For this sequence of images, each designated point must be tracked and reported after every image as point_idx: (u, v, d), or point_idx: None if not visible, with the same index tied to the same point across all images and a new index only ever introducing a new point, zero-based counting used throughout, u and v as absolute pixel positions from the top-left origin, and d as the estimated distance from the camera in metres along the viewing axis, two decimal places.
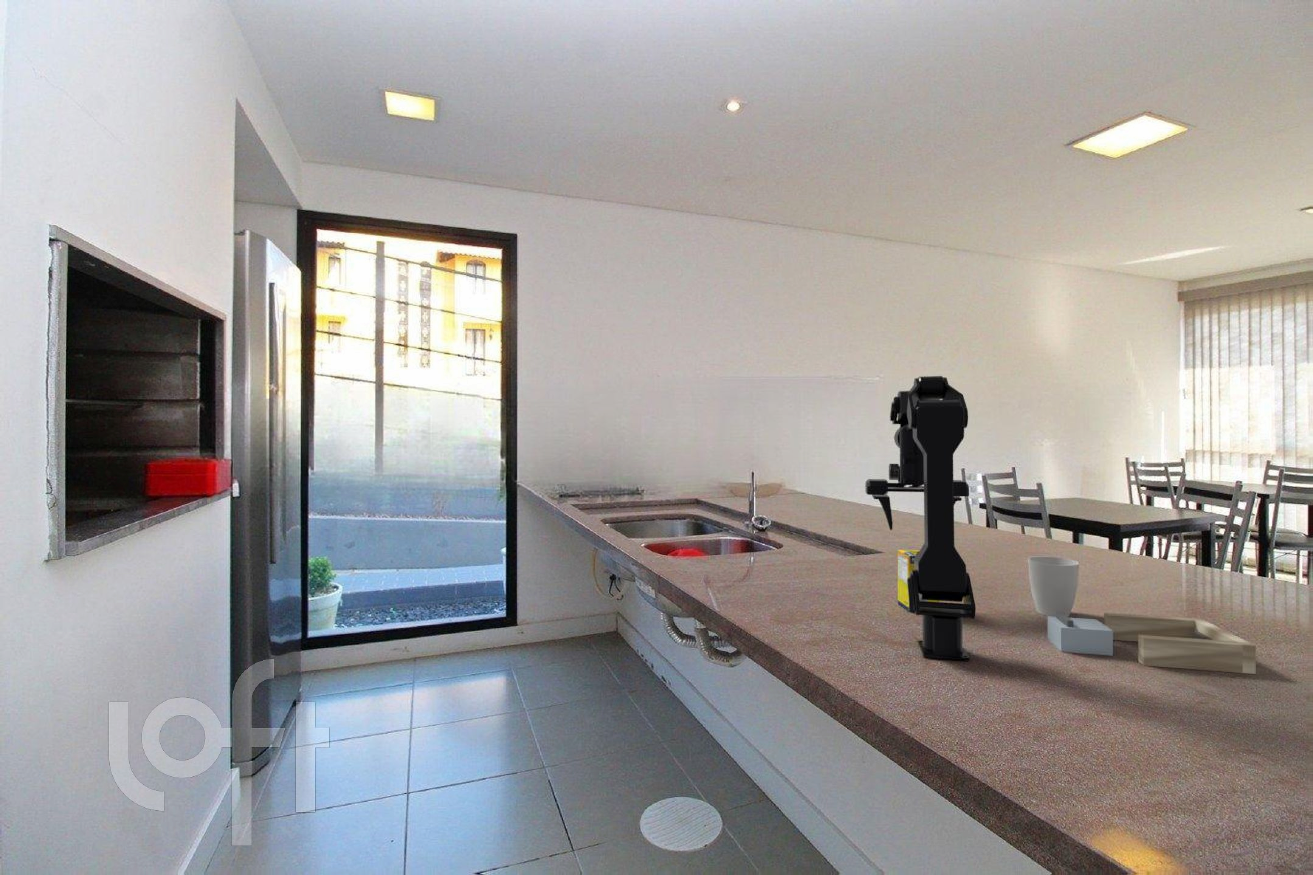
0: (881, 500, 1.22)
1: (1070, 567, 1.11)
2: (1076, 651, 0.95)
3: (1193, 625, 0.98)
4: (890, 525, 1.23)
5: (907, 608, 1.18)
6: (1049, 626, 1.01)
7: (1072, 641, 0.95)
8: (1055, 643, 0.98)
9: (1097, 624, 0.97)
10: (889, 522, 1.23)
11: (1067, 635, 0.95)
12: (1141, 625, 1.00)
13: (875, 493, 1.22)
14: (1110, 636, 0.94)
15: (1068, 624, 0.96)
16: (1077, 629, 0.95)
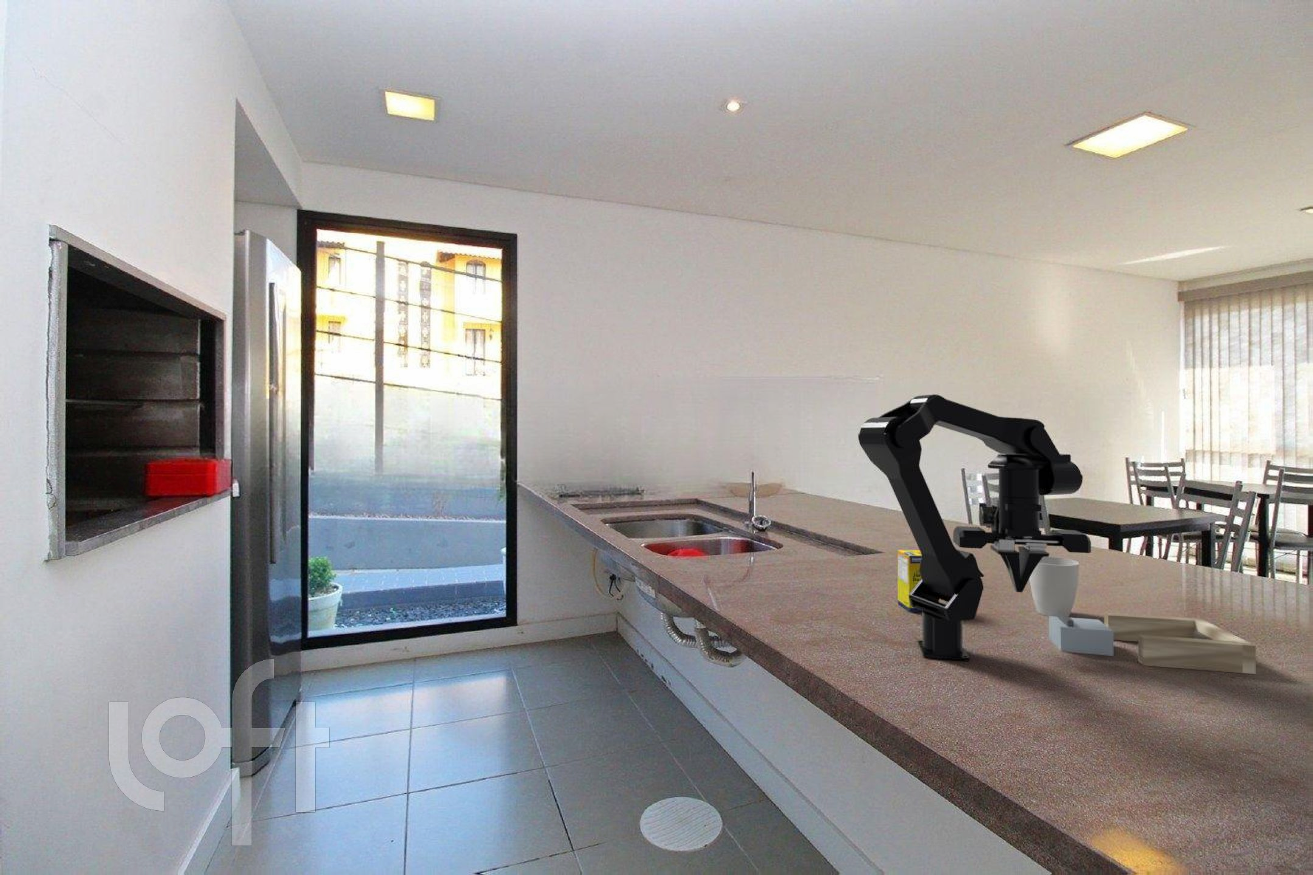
0: (1008, 556, 0.98)
1: (1070, 567, 1.11)
2: (1076, 651, 0.95)
3: (1193, 625, 0.98)
4: (1017, 586, 0.99)
5: (907, 608, 1.18)
6: (1050, 626, 1.01)
7: (1072, 641, 0.95)
8: (1056, 643, 0.98)
9: (1098, 624, 0.97)
10: (1016, 583, 0.99)
11: (1067, 635, 0.96)
12: (1141, 625, 1.00)
13: (970, 546, 0.99)
14: (1110, 636, 0.94)
15: (1068, 624, 0.96)
16: (1077, 629, 0.95)
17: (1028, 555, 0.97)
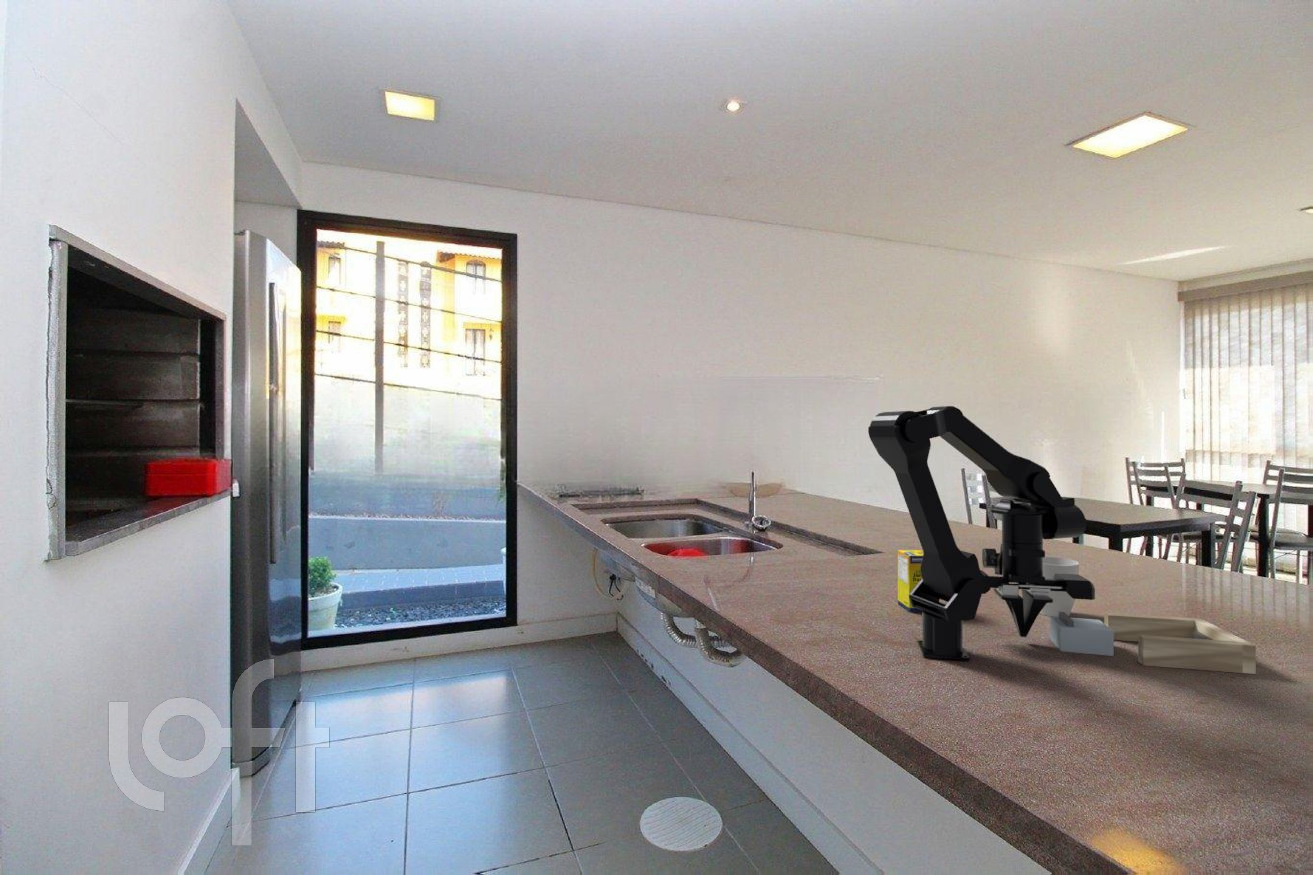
0: (1012, 602, 0.98)
1: (1070, 567, 1.11)
2: (1076, 651, 0.95)
3: (1193, 625, 0.98)
4: (1021, 631, 0.99)
5: (907, 608, 1.18)
6: (1051, 626, 1.01)
7: (1072, 641, 0.95)
8: (1056, 643, 0.98)
9: (1099, 624, 0.97)
10: (1020, 628, 0.99)
11: (1067, 635, 0.96)
12: (1141, 625, 1.00)
13: None
14: (1111, 636, 0.94)
15: (1068, 624, 0.96)
16: (1077, 629, 0.95)
17: (1032, 601, 0.97)
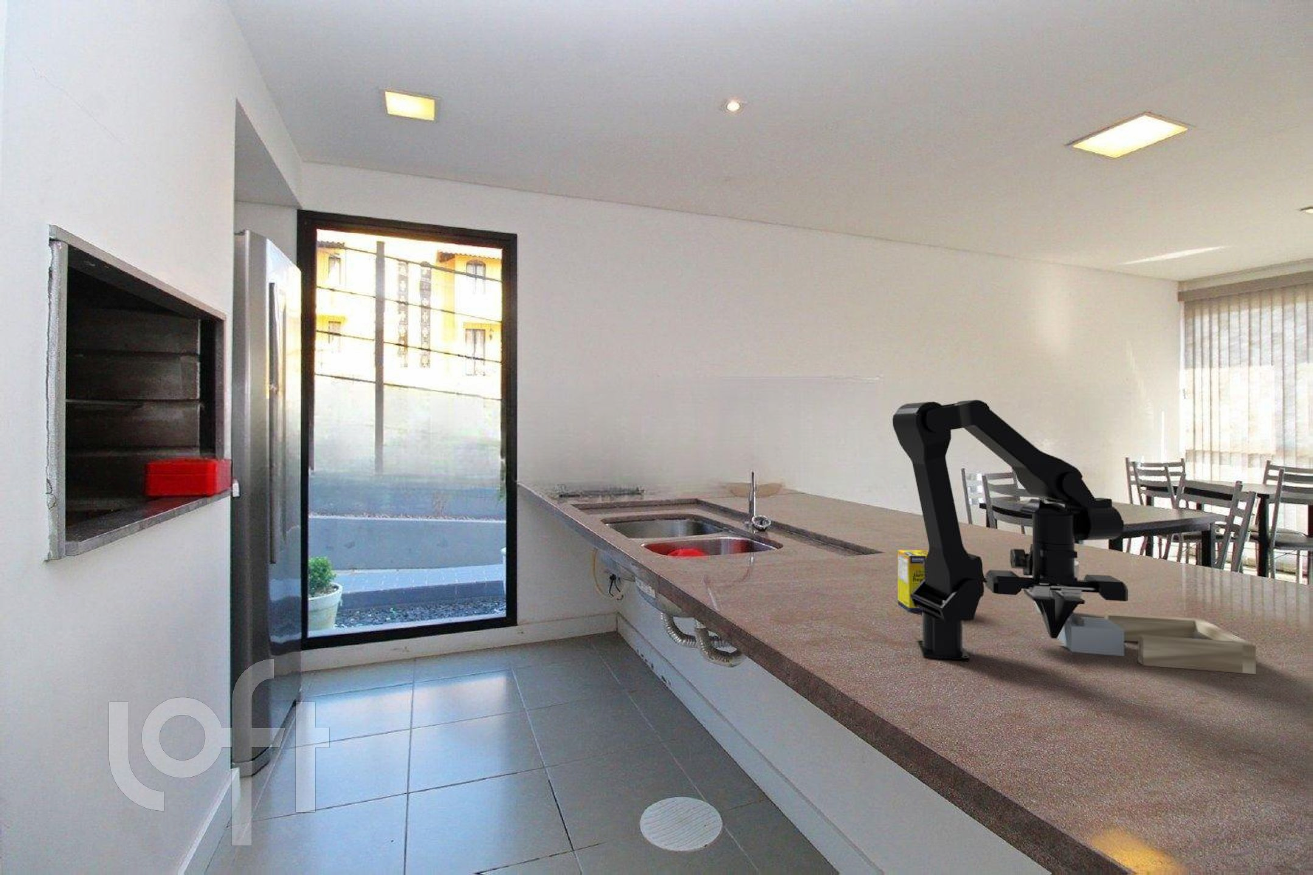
0: (1043, 603, 0.96)
1: None
2: (1087, 650, 0.95)
3: (1193, 625, 0.98)
4: (1052, 633, 0.98)
5: (907, 608, 1.18)
6: None
7: (1083, 640, 0.95)
8: (1066, 642, 0.98)
9: (1108, 623, 0.97)
10: (1051, 629, 0.98)
11: (1077, 634, 0.95)
12: (1141, 625, 1.00)
13: (1005, 592, 0.98)
14: (1121, 635, 0.94)
15: (1079, 623, 0.96)
16: (1088, 628, 0.95)
17: (1063, 602, 0.96)
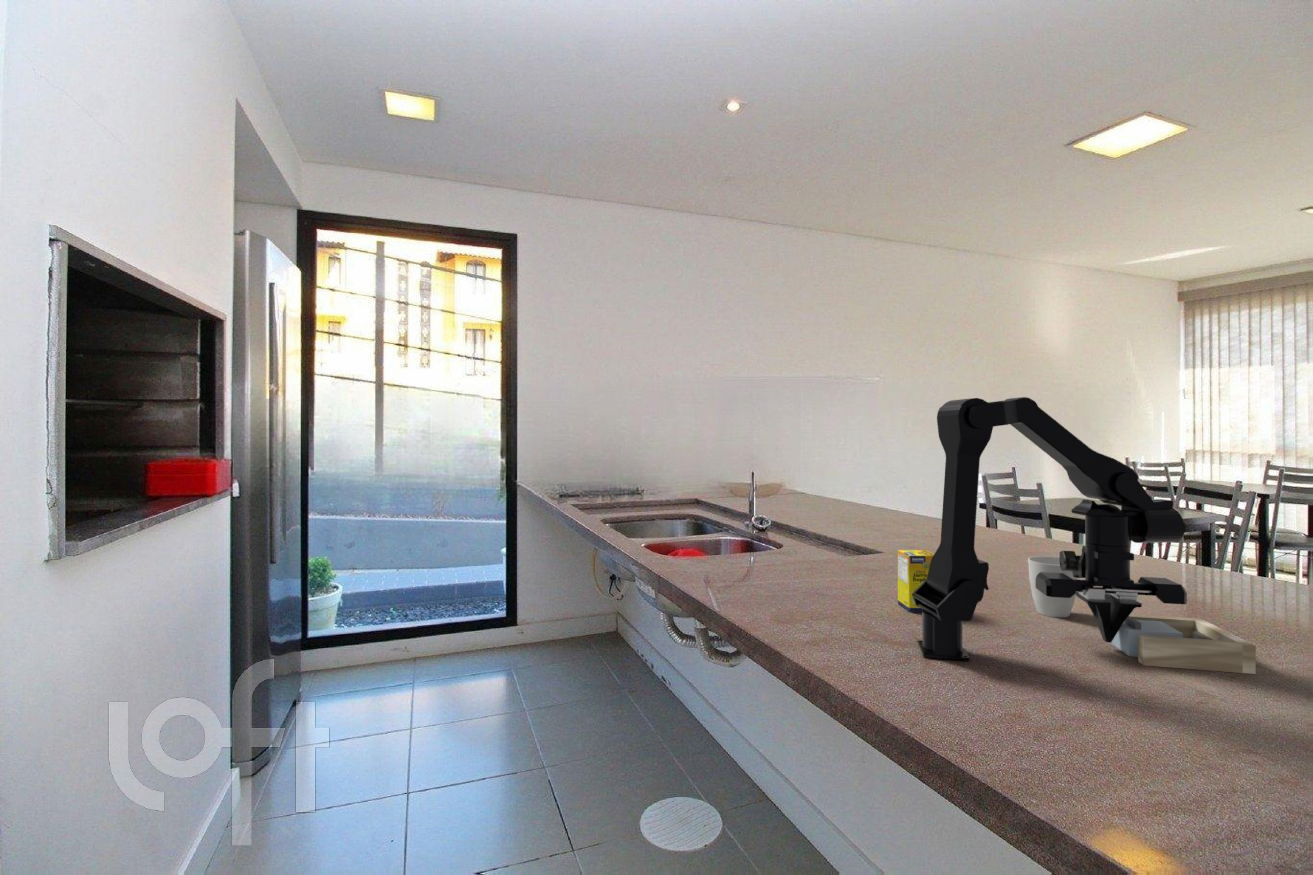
0: (1099, 606, 0.94)
1: None
2: None
3: (1193, 625, 0.98)
4: (1107, 636, 0.96)
5: (907, 608, 1.18)
6: None
7: None
8: (1121, 646, 0.96)
9: (1164, 626, 0.95)
10: (1106, 633, 0.96)
11: (1135, 638, 0.93)
12: None
13: (1058, 595, 0.96)
14: None
15: (1136, 626, 0.94)
16: (1145, 632, 0.93)
17: (1119, 605, 0.94)
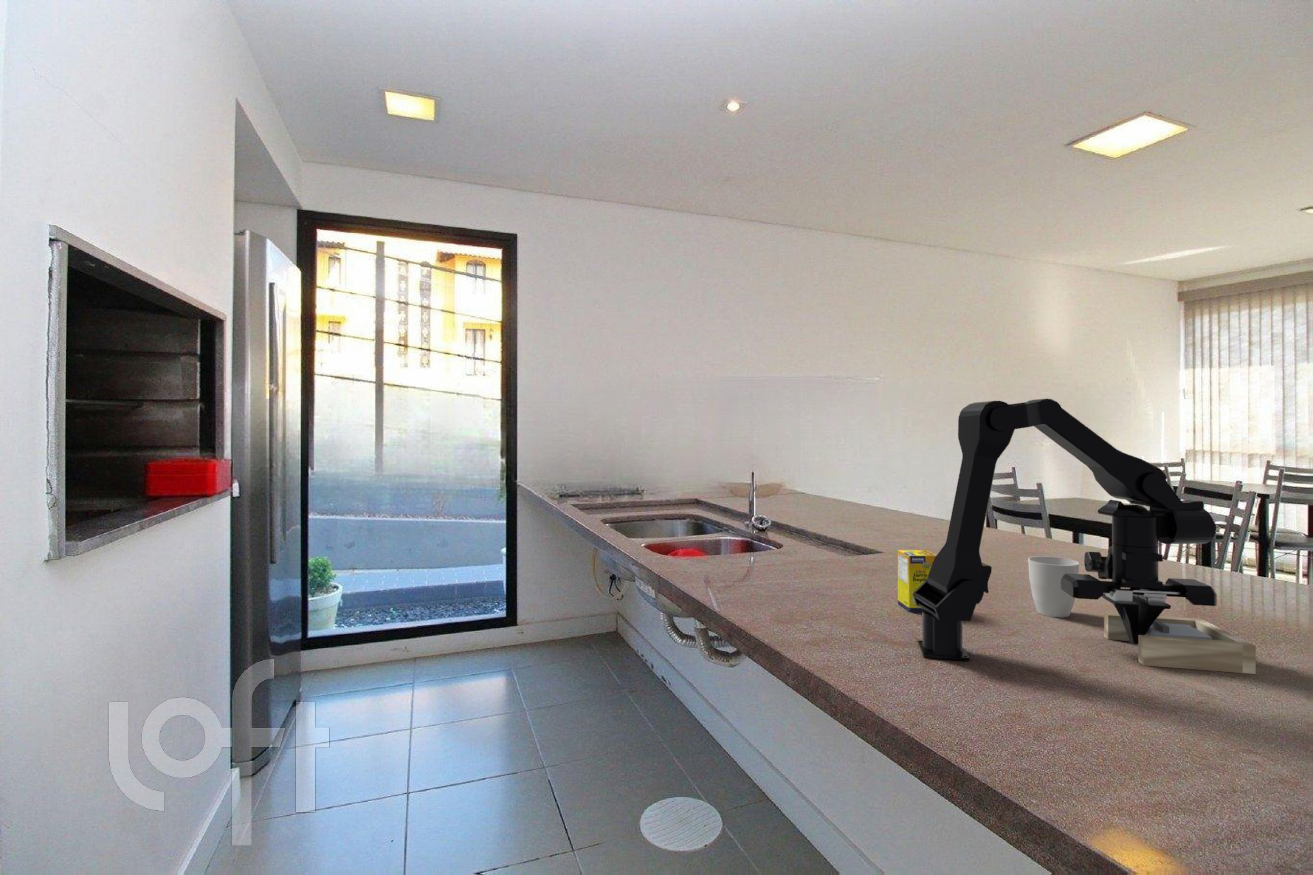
0: (1126, 608, 0.93)
1: (1070, 567, 1.11)
2: None
3: (1193, 625, 0.98)
4: (1134, 638, 0.95)
5: (907, 608, 1.18)
6: None
7: None
8: None
9: (1192, 630, 0.94)
10: (1133, 635, 0.95)
11: None
12: None
13: (1085, 597, 0.95)
14: None
15: (1164, 630, 0.93)
16: (1174, 635, 0.92)
17: (1148, 607, 0.93)
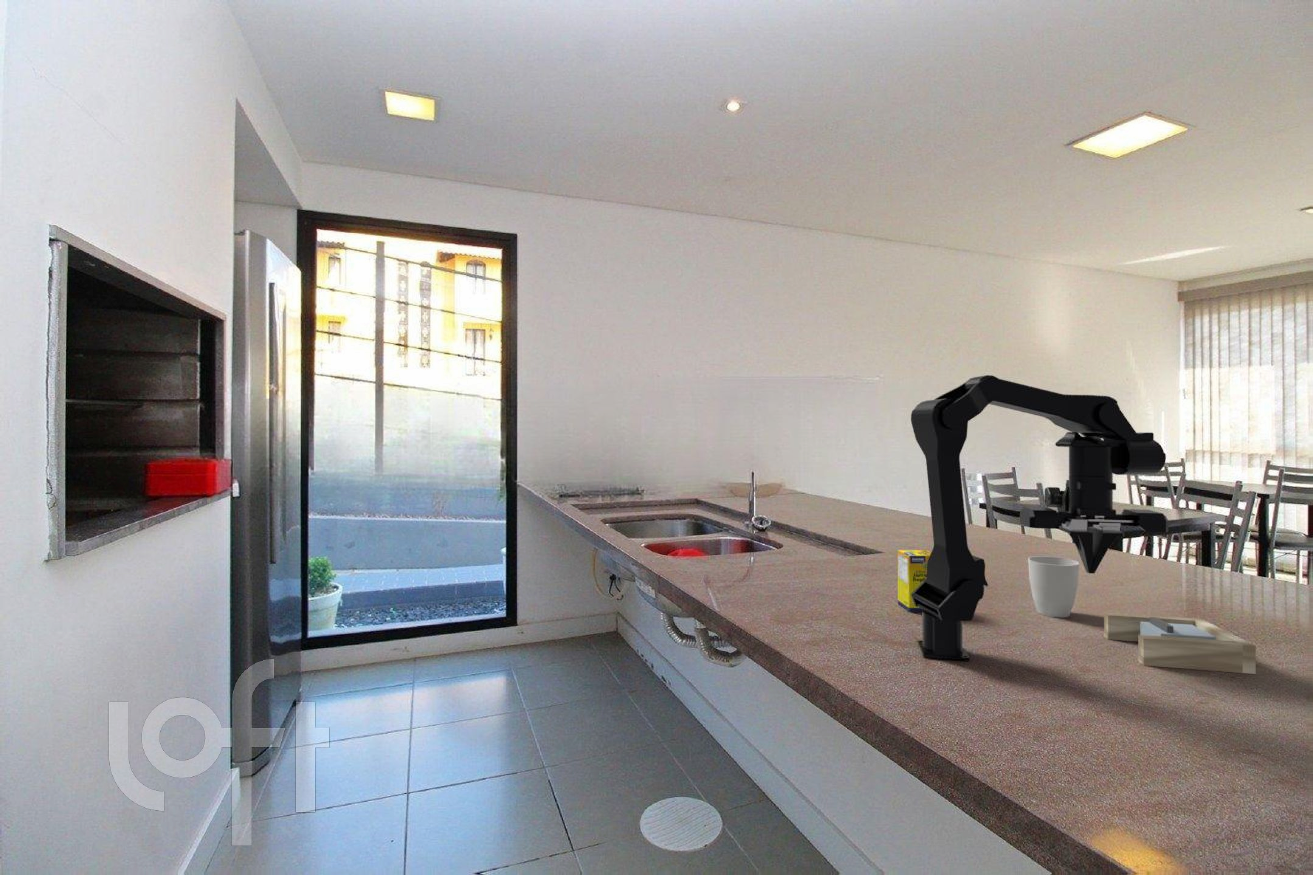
0: (1081, 536, 0.95)
1: (1070, 567, 1.11)
2: None
3: (1193, 625, 0.98)
4: (1089, 567, 0.97)
5: (907, 608, 1.18)
6: (1143, 632, 0.97)
7: None
8: None
9: (1196, 630, 0.94)
10: (1088, 564, 0.97)
11: None
12: None
13: (1041, 526, 0.96)
14: None
15: (1168, 630, 0.93)
16: (1178, 635, 0.92)
17: (1102, 535, 0.95)
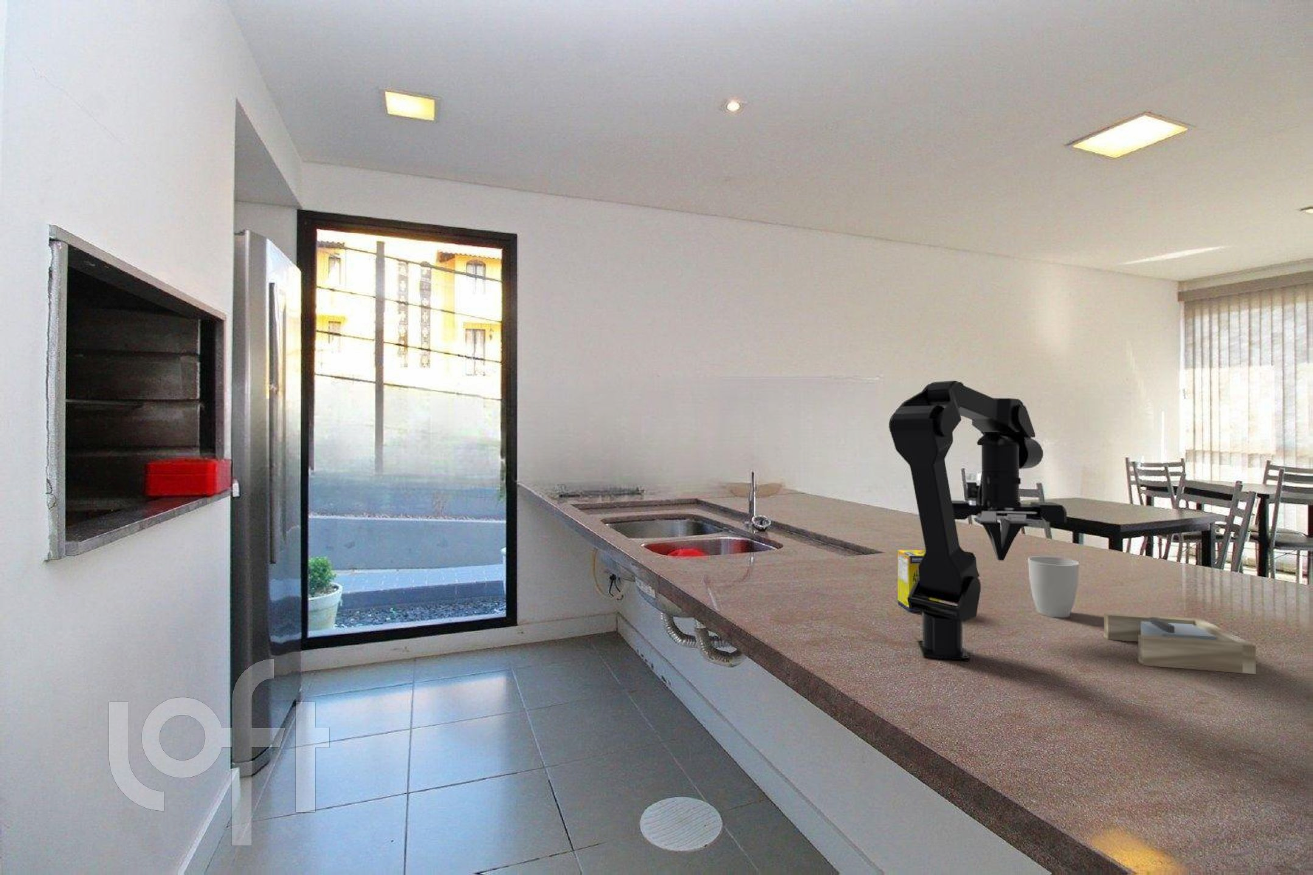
0: (990, 526, 1.05)
1: (1070, 567, 1.11)
2: None
3: None
4: (999, 555, 1.06)
5: (907, 608, 1.18)
6: (1143, 632, 0.97)
7: None
8: None
9: (1196, 629, 0.94)
10: (998, 551, 1.06)
11: None
12: None
13: (955, 517, 1.06)
14: None
15: (1169, 630, 0.93)
16: (1179, 635, 0.92)
17: (1009, 525, 1.04)
